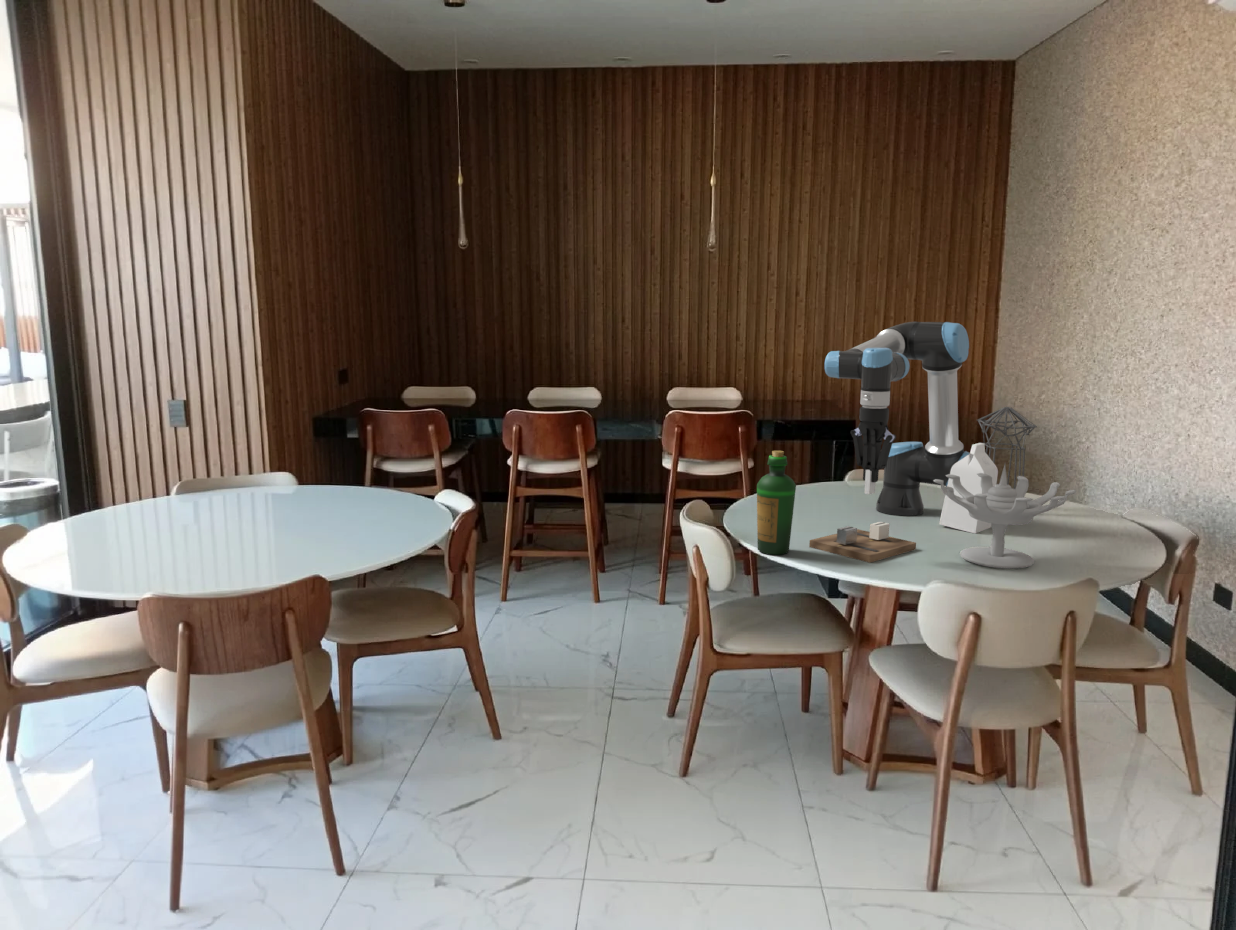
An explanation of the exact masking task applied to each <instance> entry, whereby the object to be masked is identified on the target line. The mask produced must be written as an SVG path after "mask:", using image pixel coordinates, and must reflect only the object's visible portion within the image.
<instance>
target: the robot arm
mask: <svg viewBox="0 0 1236 930" xmlns="http://www.w3.org/2000/svg"><path fill="white" fill-rule="evenodd" d="M969 349H970V341H969V336H968V332H967V329H966V328H965V327H964V326H963V325H962V324H960V323H958V322H950V321H945V322H942V321H908V322H903V323H900V324H896V325H894V326H890V327H888V328H886V329H884V330H882V331H880V332H879V333H878V334H877V335H876V336H875V337H873V338H872V339H870V340H867V341H865V342H862V343H861V344H858V345H856V346H854V347H852V348H850V349H847V350H844V351H843V350H831V351H829V352H828V353H827V355H826V356H825V359H824V372H825V374H826V376H828V377H829V378H835V379H838V380H839V379H847V380H848V379H850V380H852V379H853V380H860V381H861V384H860V386H861V387H860V400H859V403H860V405H861V406H860V407H859V416H858V417H859V424H858V426H857V427H856V428H855V429H852V430H850V435H851V437H852V440H853V444H854V445H853V446H854V452H855V459H856V465H857V466H858V467H861V468H862V469H863V472H862V480H863V481H864V493H863V494H865V495H872V494H875V493H876V484H877V482H878V481H879V471H880V470H882V469H883V480H882V481H883V482H882V483H883V485H882V488H881V491H880V493H879V496H878V499H877V501H876V508H875V509H876V511H878V512H880V513H883V514H888V515H894V516H895V515H896V516H907V517H908V516H920V515H922V514H924V503H923V498H922V495H921V491H920V485H921V484H928V485H929V484H930V485H933V486H934V485H935V486H941V484H938V483H935V482H934V481H933V480H935V479H939V480H943V485H944V486H945V487H947V485H948V480H949V478H948V477H946V475H948V474H950V471H951V468H952V466H953V465H954V464H955V463H957V462H958V461H960V460H961V459H963V458H964V457H966V456H967V455H969V454H970V452H969V451H967V450H965V451H964V447H965V446H964V443H963V442H961V440H959V413H958V412H959V411H958V410H959V409H958V408H959V406H958V404H959V403H958V402H959V401H958V397H959V396H958V370H959V369H960V368H961V367H962V366H963V362H965V361H967V359H968V357H969ZM909 360H913V361H914V360H917V361H921V367H922V369H923V370H924V371H925V372H926V373H927V394H928V395H927V396H928V422H929V423H928V425H929V426H928V427H929V428H928V429H929V441H928V442H927V443H926V444H925V445H924V444H923V442H922V441H903V442H902V441H901V442H894V441H895V440H896V439H897V435H896V434H894V433H893V434H892V432H890V431H889V427H888V422H889V418H890V417H889V416H890V408H889V406H890V402H891V401H890V400H891V382H898V381H900V380H902V379H904V378H905V377H906V376H907V375H908V373H909V371H910V368H911V366H910V361H909ZM883 440H884V441H883ZM920 483H921V484H920Z"/></svg>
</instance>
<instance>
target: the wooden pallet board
mask: <svg viewBox="0 0 1236 930" xmlns="http://www.w3.org/2000/svg"><path fill="white" fill-rule="evenodd" d="M869 535H870V531H868V530H862V529H858V528H857V541H856V542H855V543H851V544H847V545H844V544H840V543H837V533H834V534H830V535H829V534H828V535H825V536H821V537H815V538H813V539H809V545H808V546H809V548H811V549H816V550H819V551H823V552H827V553H830V554H835V555H837V556H838V555H839V556H842V557H847V558H850V559H855V560H857V561H861V562H865V563H874V562H878V561H881V560H884V559H888V558H891V557H894V556H898V555H901V554H904V553H905V554H906V553H910V552H912V551H915V550H917V542H914V541H910V540H906V539H901V538H897V537H893V536H889V537H888V538H884V539H881V540H876V539H872V538H869Z"/></svg>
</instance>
